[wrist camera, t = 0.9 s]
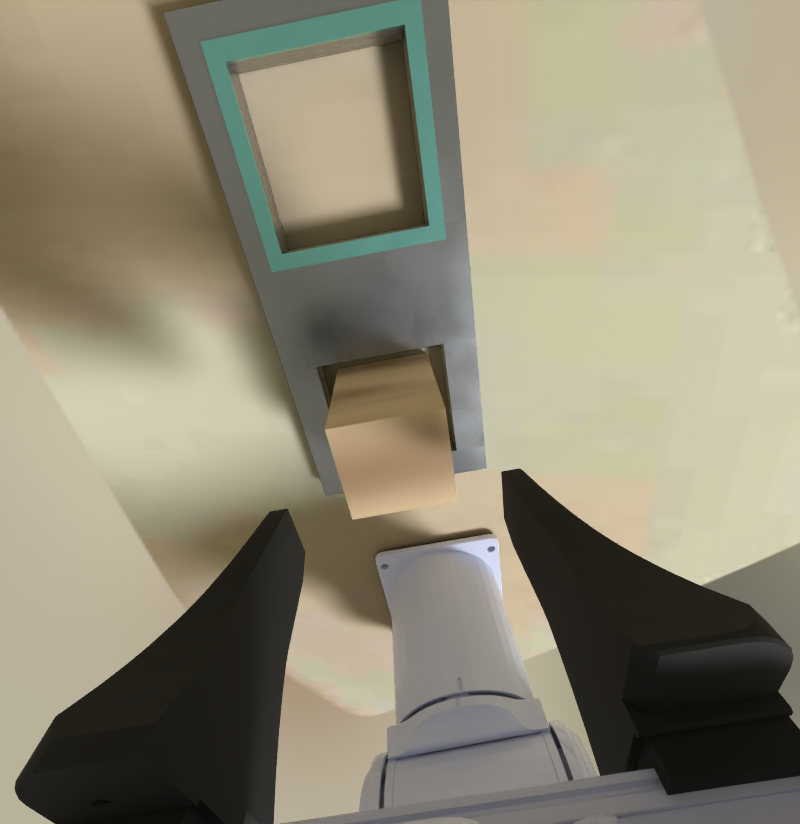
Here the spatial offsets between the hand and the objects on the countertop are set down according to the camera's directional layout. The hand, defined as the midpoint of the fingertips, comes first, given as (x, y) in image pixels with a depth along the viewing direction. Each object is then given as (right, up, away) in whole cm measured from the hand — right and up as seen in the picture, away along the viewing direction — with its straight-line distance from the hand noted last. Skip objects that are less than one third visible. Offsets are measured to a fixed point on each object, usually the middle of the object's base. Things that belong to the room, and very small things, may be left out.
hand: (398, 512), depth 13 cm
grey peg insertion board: (-1, +9, +5) cm, 10 cm away
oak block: (-1, +4, +8) cm, 9 cm away
